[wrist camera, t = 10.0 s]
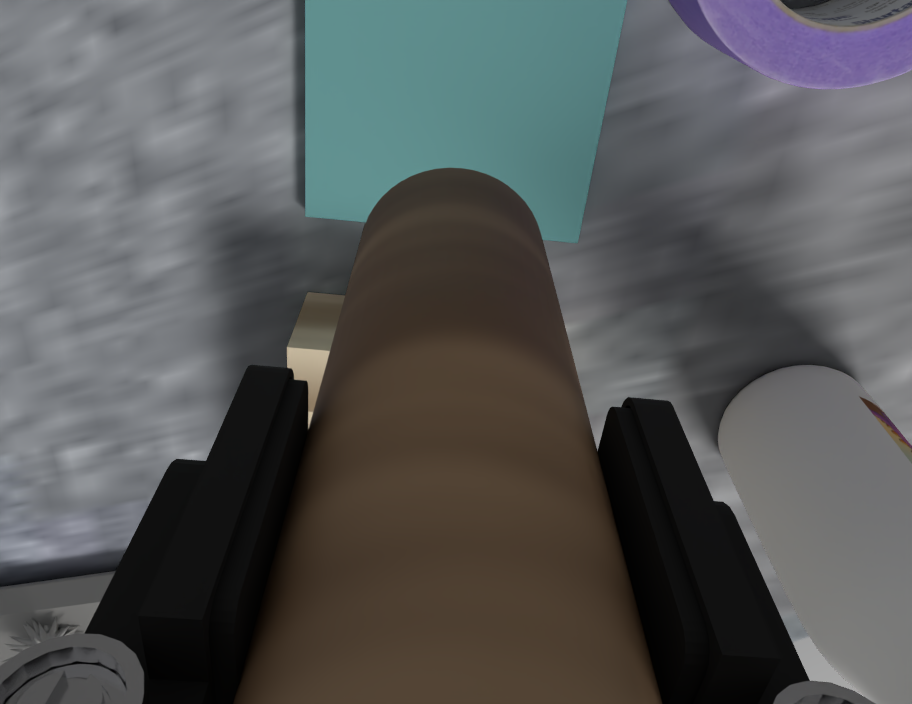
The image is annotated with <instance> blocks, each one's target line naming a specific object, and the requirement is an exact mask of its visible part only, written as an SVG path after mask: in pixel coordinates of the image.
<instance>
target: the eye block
mask: <svg viewBox="0 0 912 704" xmlns="http://www.w3.org/2000/svg"><path fill="white" fill-rule="evenodd" d="M344 298H345V295H334V294H323V293H313V292H307V295H306V298H305V300H304V303H303V306H302V308H301V311H300V314H299V316H298V319H297V322H296V324H295V327H294V330H293V332H292V335H291V338H290V340H289V343H288V346H287V368H292V370H293V373H294V380H305V381H307V382H308V429H309V426H310V422H311V418H312V415H313V411H314V407H315V404H316V400H317V396H318V393H319V389H320V385H321V382H322V378H323V375H324V371H325V367H326V364H327V360H328V356H329V353H330V349H331V345H332V342H333V338H334V334H335V331H336V327H337V324H338V320H339V316H340V313H341V309H342V305H343V302H344Z"/></svg>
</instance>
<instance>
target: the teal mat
mask: <svg viewBox="0 0 912 704" xmlns="http://www.w3.org/2000/svg"><path fill="white" fill-rule="evenodd" d="M626 4H627V0H305V216H306V217H316V218H326V219H336V220H346V221H357V222H366V221H367V219H368V216H369V214H370V213H371V211H372V210H373V208H374V206H375V205H376V204H377V202H378V201H379V200H380V199H381V198H382V196H383V195H385V194H386V193H387V192H388V191H389V190H390V189H391V188H392V187H394V186H395V185H397V184H398V183H400V182H401V181H403V180H405V179H407V178H409V177H411V176H413V175H415V174H418V173H421V172H424V171H428V170H433V169H438V168H464V169H470V170H475V171H478V172H482V173H485V174H488V175H490V176H492V177H494V178H496V179H498V180H500V181H501V182H503V183H505V184H506V185H508V186H509V187H510V188H511V189H513V190H514V191H515V192H516V193H517V194H518V195H519V196H520V197H521V198H522V199H523V200H524V201H525V202H526V204H527V205H528V207H529V208H530V210H531V211H532V213H533V215H534V217H535V219H536V221H537V223H538V226H539V229H540V232H541V236H542V240H550V241H560V242H570V243H578V239H579V234H580V229H581V224H582V219H583V215H584V210H585V205H586V200H587V195H588V190H589V185H590V180H591V175H592V171H593V166H594V161H595V156H596V151H597V146H598V141H599V136H600V131H601V126H602V122H603V117H604V112H605V107H606V102H607V97H608V92H609V87H610V82H611V78H612V73H613V68H614V63H615V58H616V53H617V48H618V43H619V38H620V33H621V29H622V24H623V19H624V14H625V9H626Z"/></svg>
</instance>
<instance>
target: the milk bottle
mask: <svg viewBox="0 0 912 704" xmlns="http://www.w3.org/2000/svg"><path fill="white" fill-rule="evenodd" d="M718 446H719V450H720V454H721V456H722V459H723V461H724V464H725V466H726V468H727V470H728V472H729V475H730V477H731V479H732V481H733V483H734V485H735V488H736V490H737V492H738V494H739V496H740V498H741V500H742V503H743V505H744V507H745V509H746V511H747V513H748V515H749V517H750V520H751V522H752V524H753V526H754V528H755V530H756V532H757V534H758V537H759V539H760V541H761V543H762V545H763V547H764V549H765V551H766V553H767V555H768V557H769V559H770V562H771V564H772V566H773V568H774V570H775V572H776V574H777V576H778V578H779V580H780V582H781V584H782V586H783V588H784V591H785V593H786V595H787V597H788V599H789V600H790V602H791V604H792V606H793V608H794V610H795V612H796V614H797V616H798V617H799V619H800V621H801V623H802V625H803V627H804V629H805V630H806V632H807V633H808V635H809V636H810V638H811V639H812V641H813V643H814V644H815V646H816V647H817V649H818V650H819V651H820V653H821V654H822V655H823V656H824V657H825V659H826V660H827V661H828V663H829V664H830V665H831V666H832V667H833V668H834V669H835V670H836V671H837V672H838V673H839V674H840V675H841V677H842V678H843V679H845V680H846V681H847V682H848V683H849V684H850V685H851V686H852V687H854V688H855V689H856V690H857V691H858V692H860V693H861V694H862V695H863V696H864V697H866V698H867V699H869V700H870V701H872V702H874V703H876V704H912V446H911V445H910V444H909V442H908V441H907V440H906V439H905V437H904V436H903V435H902V434H901V433H900V431H899V430H898V429H897V428H896V426H895V425H894V424H893V423H892V422H891V420H890V419H889V418H888V417H887V416H886V414H885V413H884V412H883V411H882V409H881V408H880V407H879V406H878V405H877V403H876V402H875V401H874V400H873V399H872V397H871V396H870V395H869V394H868V393H867V392H866V391H865V390H864V389H863V387H862V386H861V385H860V384H859V383H858V382H857V381H856V380H854V379H853V378H852V377H850V376H849V375H847V374H845V373H843V372H841V371H838V370H835V369H832V368H828V367H825V366H816V365H795V366H790V367H786V368H780V369H778V370H775V371H773V372H770V373H767V374H765V375H763V376H761V377H760V378H758V379H756V380H754V381H752V382H751V383H750V384H749V385H747V386H746V387H745V388H743V389H742V390H741V391H740V392H739V393H738V394H737V395H736V396H735V397H734V398H733V399H732V401H731V402H730V404H729V405H728V407H727V408H726V410H725V412H724V414H723V417H722V419H721V422H720V427H719V432H718Z"/></svg>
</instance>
